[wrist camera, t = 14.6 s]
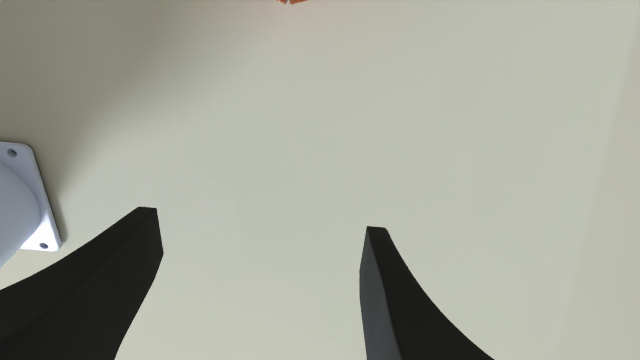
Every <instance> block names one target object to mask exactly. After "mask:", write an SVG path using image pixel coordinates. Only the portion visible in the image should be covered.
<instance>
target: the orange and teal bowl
mask: <svg viewBox="0 0 640 360" xmlns="http://www.w3.org/2000/svg"><path fill="white" fill-rule="evenodd" d="M277 1H279V2H282V3H284V4H286V3H287V1H288V0H277ZM289 1H290V4H296V3H299V2H303V1H307V0H289Z"/></svg>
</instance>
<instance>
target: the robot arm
mask: <svg viewBox="0 0 640 360" xmlns="http://www.w3.org/2000/svg"><path fill="white" fill-rule="evenodd" d="M12 150H14V151H15V152H16V153H14V152H13V151H12ZM45 243H46V244H45ZM61 246H62V242H61V239H60V236H59V233H58V230H57V227H56V224H55V220H54V217H53V214H52V211H51V208H50V205H49V201H48V198H47V195H46V192H45V189H44V186H43V182H42V179H41V176H40V173H39V170H38V167H37V164H36V160H35V157H34V154H33V151H32V149H31V148H30V147H29V146H27V145H26V144H22V143H11V142H0V268H1V267H2V266H3V265H4V264H5V263H6V262H7V261H8V260H9V259H10V258H11V257H12V256H13V255H14V253H15V252H16V251H17V250H18V249H30V250H42V251H58V250H59V249H60V248H61ZM163 254H164V253H163V247H162V241H161V234H160V228H159V221H158V215H157V209H156V208H149V207H137V208H136V209H134V210H133V211H131V212H130V213H129V214H127V215H126V216H124V217H123V218H122V219H120V220H119V221H118V222H116V223H115V224H113V225H112V226H111V227H109V228H108V229H106V230H105V231H104V232H102V233H101V234H99V235H98V236H96V237H95V238H94V239H92V240H91V241H89V242H88V243H86V244H85V245H83V246H81V247H80V248H78V249H77V250H75V251H74V252H72V253H70V254H69V255H67V256H66V257H64V258H63V259H61V260H59V261H57V262H56V263H54V264H52V265H50V266H49V267H47V268H45V269H43V270H41V271H39V272H37V273H36V274H34V275H32V276H30V277H28V278H26V279H23V280H21V281H19V282H17V283H15V284H13V285H10V286H8V287H6V288H4V289H2V290H0V360H114V359H115V357H116V354H117V352H118V349H119V347H120V345H121V343H122V340H123V338H124V336H125V334H126V332H127V330H128V329H129V327H130V325H131V323H132V321H133V319H134V317H135V315H136V314H137V312H138V310H139V308H140V306H141V304H142V302H143V300H144V298H145V297H146V295H147V293H148V291H149V289H150V287H151V285H152V283H153V281H154V279H155V276H156V274H157V271H158V268H159V265H160V263H161V260H162V257H163ZM360 305H361V313H362V321H363V330H364V338H365V346H366V354H367V360H494V359H493V358H491V357H490V356H488V355H487V354H486V353H485V352H483V351H482V350H481V349H480V348H479V347H477V346H476V345H475V344H474V343H473V342H471V341H470V340H469V339H468V338H467V337H466V336H465V335H464V334H463V333H462V332H461V331H460V330H459V329H457V328H456V327H455V326H454V325H453V324H452V323H451V322H450V321H449V320H448V319H447V318H446V317H445V315H444V314H443V313H442V312H441V311H440V310H439V309H438V308H437V306H436V305H435V304H434V303H433V302H432V301H431V299H430V298H429V297H428V296H427V294H426V293H425V292H424V290H423V289H422V288H421V286H420V285H419V283H418V282H417V281H416V279H415V278H414V276H413V275H412V273H411V272H410V270H409V269H408V267H407V265H406V264H405V262H404V261H403V259H402V257H401V256H400V254H399V252H398V250H397V249H396V247H395V245H394V243H393V241H392V239H391V237H390V235H389V233H388V231H387V230H386V228H382V227H371V226H367V229H366V235H365V241H364V247H363V253H362V259H361V265H360Z"/></svg>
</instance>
